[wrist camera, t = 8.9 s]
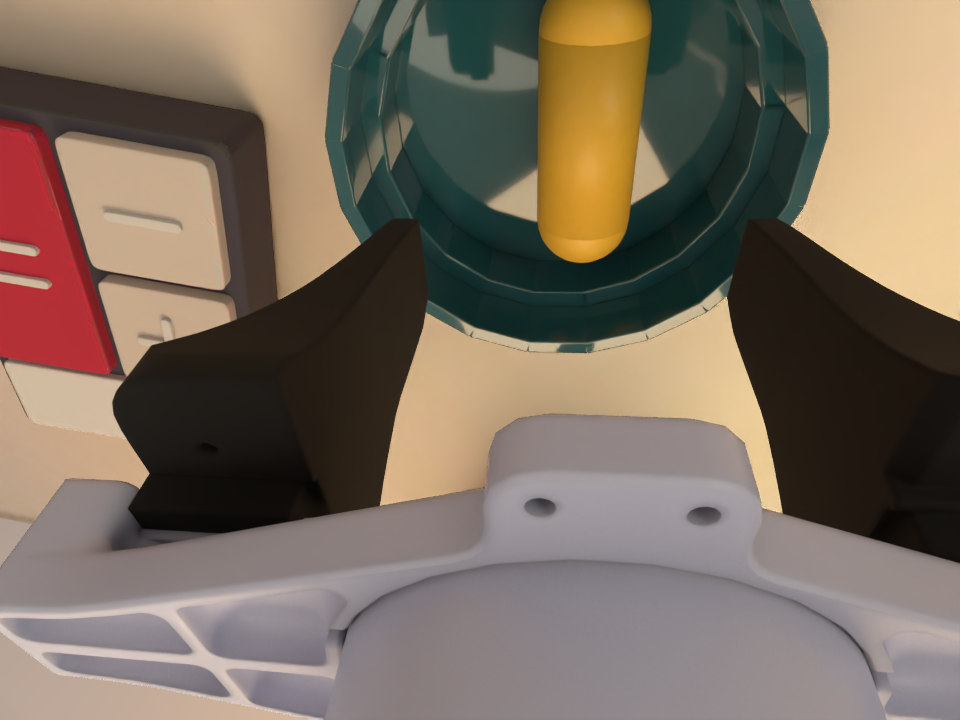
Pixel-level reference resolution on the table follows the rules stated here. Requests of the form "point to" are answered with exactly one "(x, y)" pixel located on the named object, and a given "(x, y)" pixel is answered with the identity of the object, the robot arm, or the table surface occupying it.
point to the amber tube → (589, 121)
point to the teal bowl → (514, 159)
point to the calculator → (120, 235)
